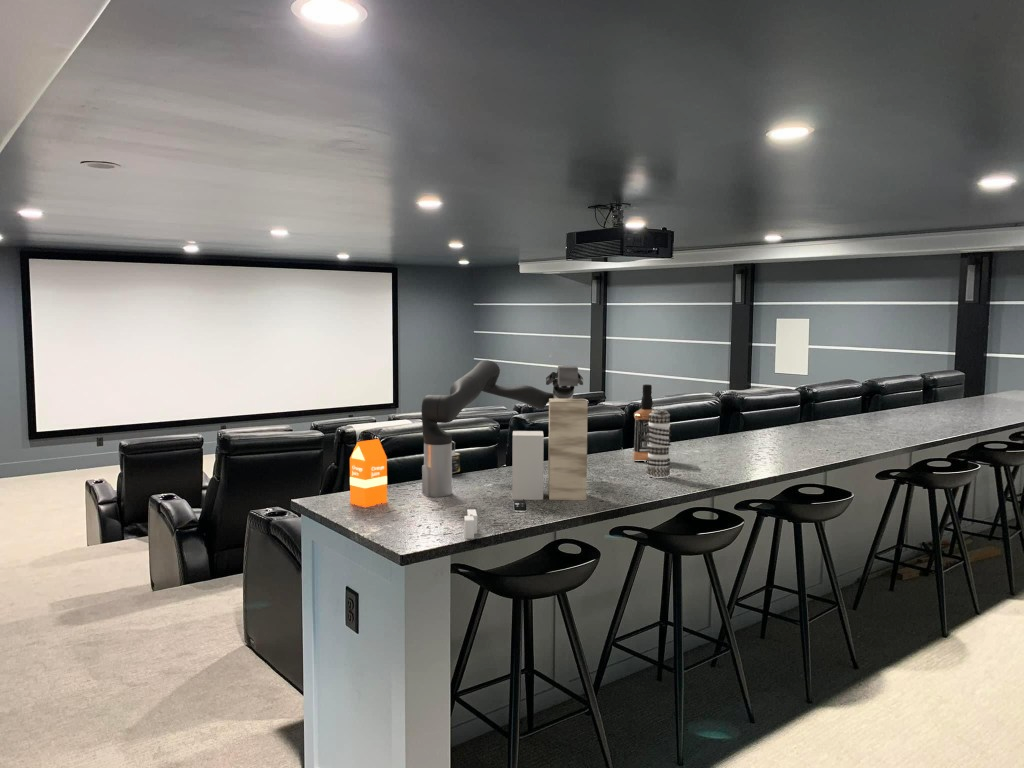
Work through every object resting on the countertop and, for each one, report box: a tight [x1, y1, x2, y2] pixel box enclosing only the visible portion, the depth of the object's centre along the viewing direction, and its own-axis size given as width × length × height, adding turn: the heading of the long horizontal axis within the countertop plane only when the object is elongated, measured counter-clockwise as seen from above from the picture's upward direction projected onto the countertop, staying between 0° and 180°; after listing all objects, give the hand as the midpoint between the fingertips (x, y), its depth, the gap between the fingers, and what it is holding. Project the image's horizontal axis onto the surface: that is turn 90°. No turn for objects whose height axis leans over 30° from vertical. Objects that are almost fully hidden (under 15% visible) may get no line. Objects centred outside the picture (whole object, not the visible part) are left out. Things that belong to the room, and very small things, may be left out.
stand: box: [547, 398, 589, 501], centre depth 241 cm, size 10×12×32 cm
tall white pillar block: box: [511, 430, 545, 501], centre depth 241 cm, size 10×10×21 cm
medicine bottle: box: [452, 440, 461, 474], centre depth 281 cm, size 7×7×12 cm
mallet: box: [557, 365, 579, 387], centre depth 246 cm, size 19×6×6 cm, turn 179°
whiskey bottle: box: [632, 384, 654, 461], centre depth 307 cm, size 10×10×32 cm
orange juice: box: [349, 438, 388, 508], centre depth 231 cm, size 8×9×20 cm
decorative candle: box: [646, 409, 672, 477], centre depth 274 cm, size 9×9×25 cm
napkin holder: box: [463, 508, 478, 540], centre depth 199 cm, size 15×11×6 cm
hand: (566, 369), depth 251 cm, fingers closed on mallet, 3 cm apart
